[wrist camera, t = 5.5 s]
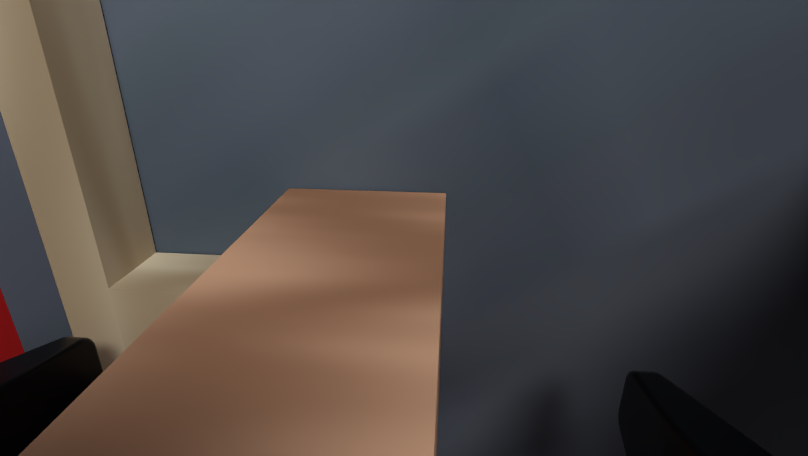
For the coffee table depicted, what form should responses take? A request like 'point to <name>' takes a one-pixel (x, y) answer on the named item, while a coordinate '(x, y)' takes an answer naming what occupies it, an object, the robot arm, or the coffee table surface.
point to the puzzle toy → (8, 334)
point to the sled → (217, 284)
